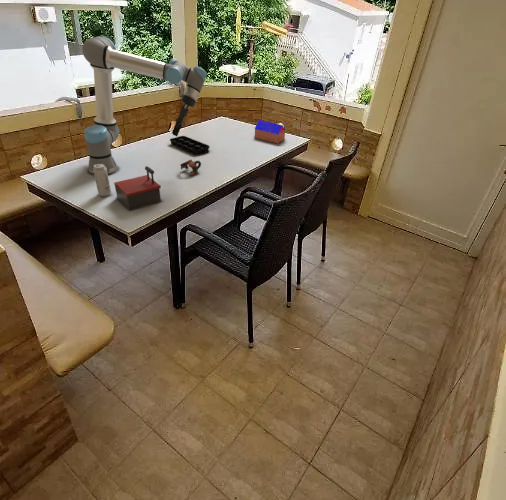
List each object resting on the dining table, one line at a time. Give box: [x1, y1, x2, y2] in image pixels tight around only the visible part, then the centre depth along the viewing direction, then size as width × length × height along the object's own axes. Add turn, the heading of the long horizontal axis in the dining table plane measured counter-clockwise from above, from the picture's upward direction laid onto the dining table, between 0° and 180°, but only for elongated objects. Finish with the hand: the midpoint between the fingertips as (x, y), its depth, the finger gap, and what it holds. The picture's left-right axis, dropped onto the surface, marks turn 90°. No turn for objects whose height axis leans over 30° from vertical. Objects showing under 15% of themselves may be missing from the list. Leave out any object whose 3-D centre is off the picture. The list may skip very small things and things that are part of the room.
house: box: [254, 119, 287, 144], centre depth 256 cm, size 12×20×12 cm, turn 58°
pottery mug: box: [180, 159, 202, 176], centre depth 201 cm, size 12×10×8 cm
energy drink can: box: [93, 164, 112, 197], centre depth 170 cm, size 6×6×15 cm
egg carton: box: [169, 135, 210, 156], centre depth 234 cm, size 18×30×4 cm, turn 59°
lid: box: [113, 165, 162, 197], centre depth 166 cm, size 17×15×8 cm
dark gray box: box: [114, 184, 162, 211], centre depth 170 cm, size 16×15×7 cm
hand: (174, 135), depth 189 cm, fingers open, 13 cm apart
